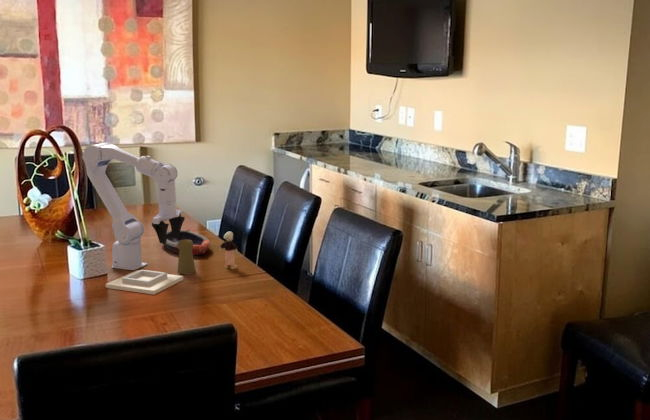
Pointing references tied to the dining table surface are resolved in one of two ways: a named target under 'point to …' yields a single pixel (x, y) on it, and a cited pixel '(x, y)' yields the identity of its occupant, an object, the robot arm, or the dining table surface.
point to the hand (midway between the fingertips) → (169, 240)
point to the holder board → (145, 281)
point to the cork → (185, 257)
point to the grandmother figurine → (229, 250)
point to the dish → (198, 240)
